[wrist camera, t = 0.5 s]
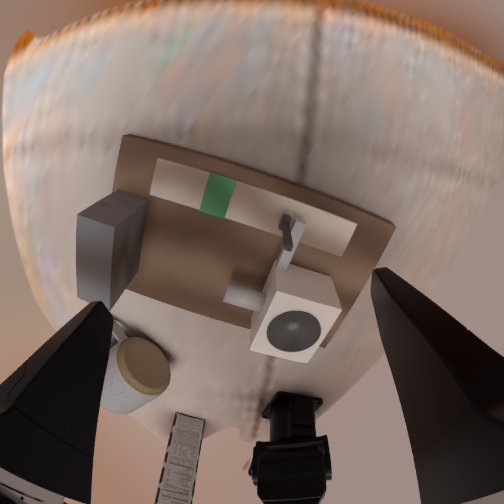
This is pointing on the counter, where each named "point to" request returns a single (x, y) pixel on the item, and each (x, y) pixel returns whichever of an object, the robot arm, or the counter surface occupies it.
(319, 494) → the robot arm
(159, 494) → the candy bar box
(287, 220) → the peak needle
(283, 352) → the gauge
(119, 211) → the test rig
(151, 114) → the counter surface
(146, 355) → the ceramic mug
